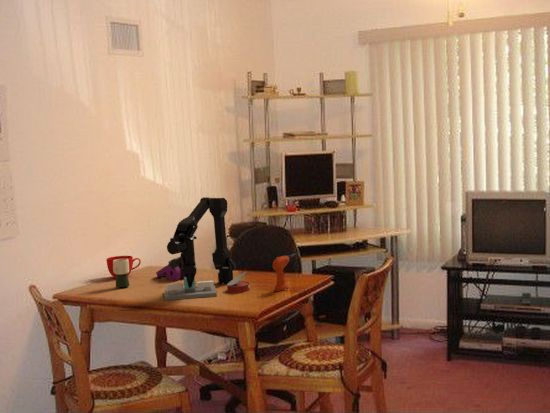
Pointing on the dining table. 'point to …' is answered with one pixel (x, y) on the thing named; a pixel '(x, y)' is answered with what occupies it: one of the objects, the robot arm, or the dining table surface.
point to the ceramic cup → (130, 258)
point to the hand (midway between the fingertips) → (189, 286)
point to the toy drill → (281, 271)
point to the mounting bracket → (171, 272)
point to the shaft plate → (190, 291)
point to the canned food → (238, 285)
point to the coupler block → (187, 284)
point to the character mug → (121, 272)
